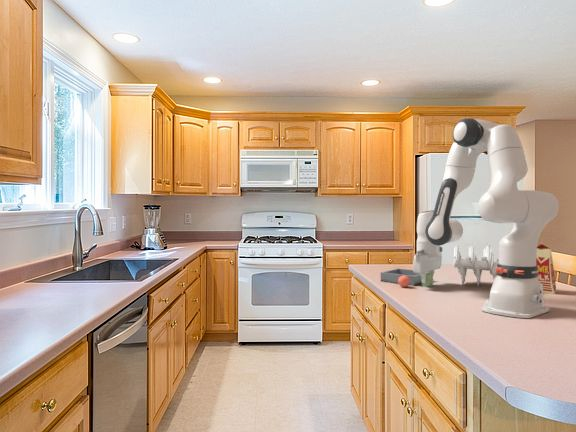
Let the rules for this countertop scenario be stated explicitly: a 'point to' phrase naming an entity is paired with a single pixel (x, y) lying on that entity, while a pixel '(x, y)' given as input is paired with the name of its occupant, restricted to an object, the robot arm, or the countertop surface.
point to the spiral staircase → (475, 262)
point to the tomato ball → (404, 281)
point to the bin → (394, 275)
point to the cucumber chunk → (428, 280)
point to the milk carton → (545, 269)
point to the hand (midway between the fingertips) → (427, 281)
